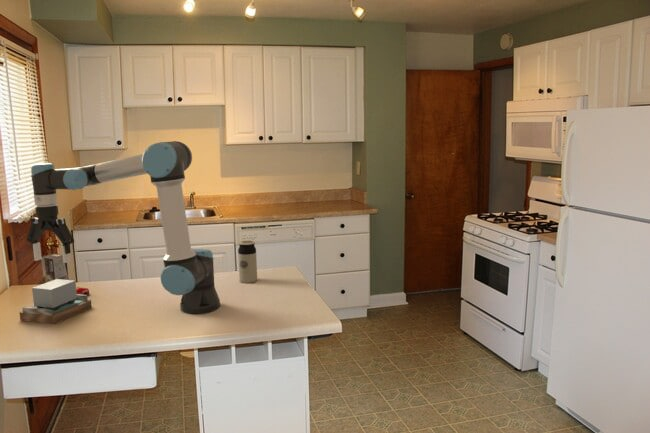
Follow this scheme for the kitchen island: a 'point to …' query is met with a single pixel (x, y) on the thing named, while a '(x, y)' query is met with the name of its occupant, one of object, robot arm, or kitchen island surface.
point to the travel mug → (247, 261)
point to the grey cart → (54, 293)
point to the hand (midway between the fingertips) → (52, 261)
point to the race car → (82, 291)
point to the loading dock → (56, 311)
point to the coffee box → (54, 268)
